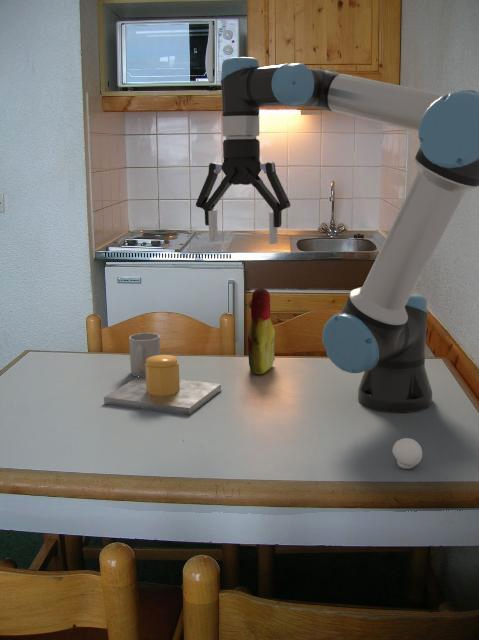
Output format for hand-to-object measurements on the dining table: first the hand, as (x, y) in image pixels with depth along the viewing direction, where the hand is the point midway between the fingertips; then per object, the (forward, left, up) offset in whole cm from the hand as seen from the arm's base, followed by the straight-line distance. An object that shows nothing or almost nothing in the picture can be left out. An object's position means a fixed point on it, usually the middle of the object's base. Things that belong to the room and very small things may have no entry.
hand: (243, 242), depth 156 cm
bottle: (+2, -15, -33) cm, 36 cm away
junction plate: (+15, +10, -33) cm, 37 cm away
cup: (+27, -3, -33) cm, 43 cm away
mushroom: (-40, +28, -33) cm, 59 cm away
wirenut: (+15, +10, -31) cm, 36 cm away
